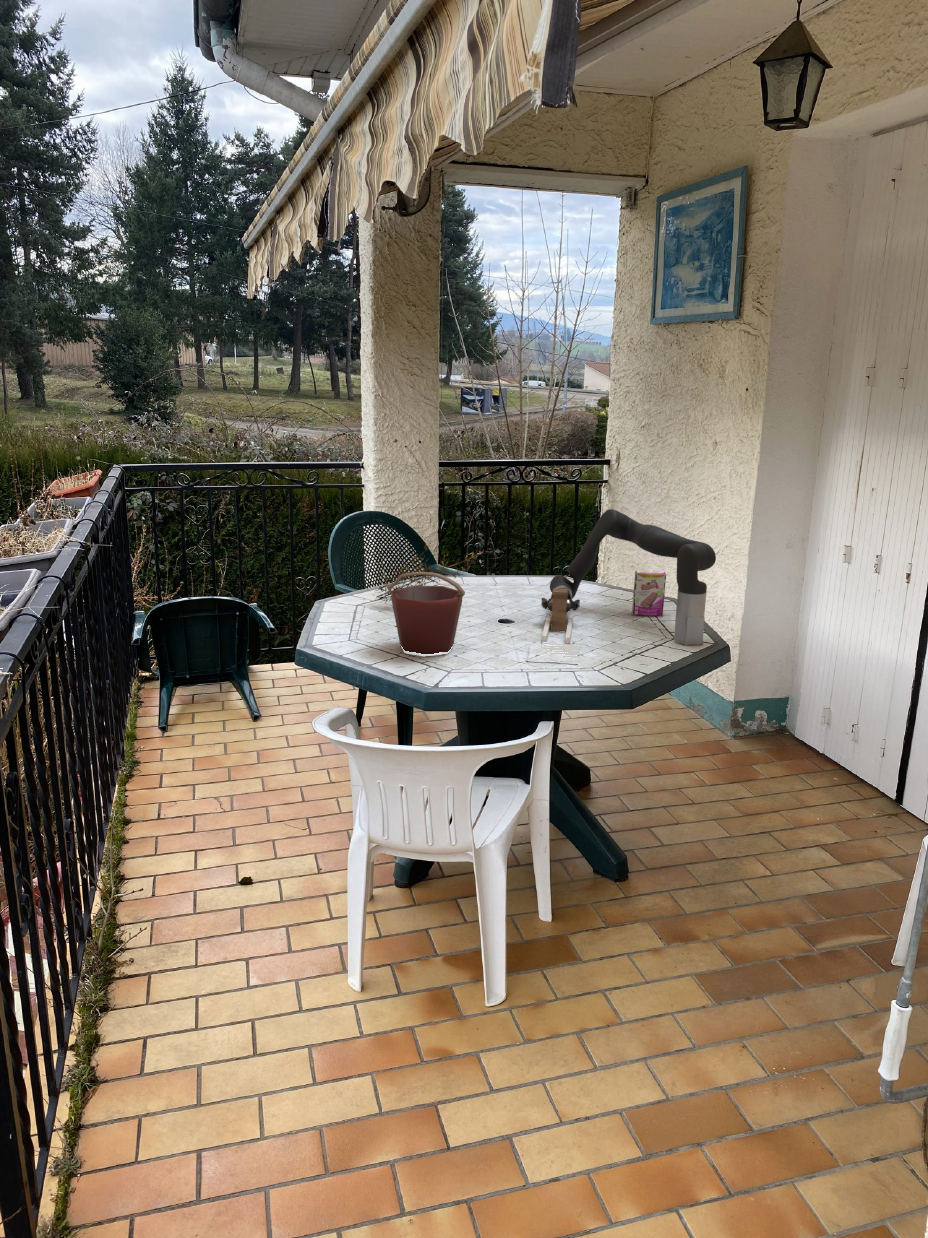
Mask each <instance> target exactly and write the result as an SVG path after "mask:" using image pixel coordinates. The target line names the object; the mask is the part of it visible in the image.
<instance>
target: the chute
mask: <svg viewBox="0 0 928 1238" xmlns="http://www.w3.org/2000/svg"><path fill="white" fill-rule="evenodd" d="M551 618H552V616H546V619H545V623H544V628H543V632H542V635H541V643H542V642H548V638H549V633H550V630H551ZM573 620H574V618H573V617H568V616H567V618H566V631H565V641H564V644H570V645H571V638H572V633H573V631H572V630H573V625H574V624H573V623H574V621H573ZM549 629H550V630H549Z"/></svg>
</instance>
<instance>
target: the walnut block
mask: <svg viewBox="0 0 928 1238" xmlns="http://www.w3.org/2000/svg"><path fill="white" fill-rule="evenodd" d="M551 595H552V611H551V617H552V618H551V625H550V632H560V631H565V632H566V631H567V625H566V618H567V617H568V616H567V613H568V612H566V607H567V595H568V589H553V592H551Z"/></svg>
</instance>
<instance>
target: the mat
mask: <svg viewBox="0 0 928 1238" xmlns="http://www.w3.org/2000/svg"><path fill="white" fill-rule="evenodd" d="M543 644H549V645H554V644H555V645H563V646H546V647H555V648H543V649H550V650H552V649H553V650H554V649H557V650H562V649H563V650H566V651H554V652H564V653H550V654H561V655H562V654H565V655H579V656H563V657H572V658H573V657H579V658H580V652H579V651H573V650H581V645H580V646H577V645H578V644H570V645H569V644H565V643H564V644H563V643H551V642H550V643H549V642H548V643H543ZM564 645H567V646H564ZM575 645H576V646H575ZM556 647H561V648H556ZM569 650H570V651H569ZM571 650H572V651H571ZM548 652H550V651H548ZM551 652H552V651H551ZM565 652H566V653H565ZM567 652H568V653H567ZM578 652H579V653H578ZM546 654H547V653H546ZM568 662H571V661H568ZM572 662H573V661H572Z"/></svg>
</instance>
